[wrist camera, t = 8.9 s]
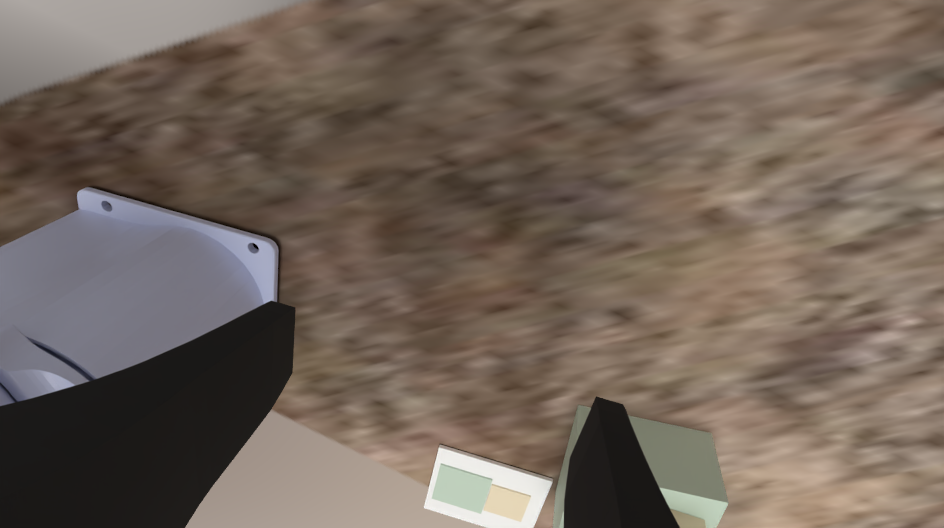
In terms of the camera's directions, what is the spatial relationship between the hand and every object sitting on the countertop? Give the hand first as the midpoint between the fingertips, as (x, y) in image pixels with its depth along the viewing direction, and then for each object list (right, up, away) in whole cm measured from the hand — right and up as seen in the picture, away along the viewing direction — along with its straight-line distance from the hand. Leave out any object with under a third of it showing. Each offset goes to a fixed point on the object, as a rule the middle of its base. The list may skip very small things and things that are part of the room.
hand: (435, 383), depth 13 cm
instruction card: (+2, -9, +17) cm, 19 cm away
